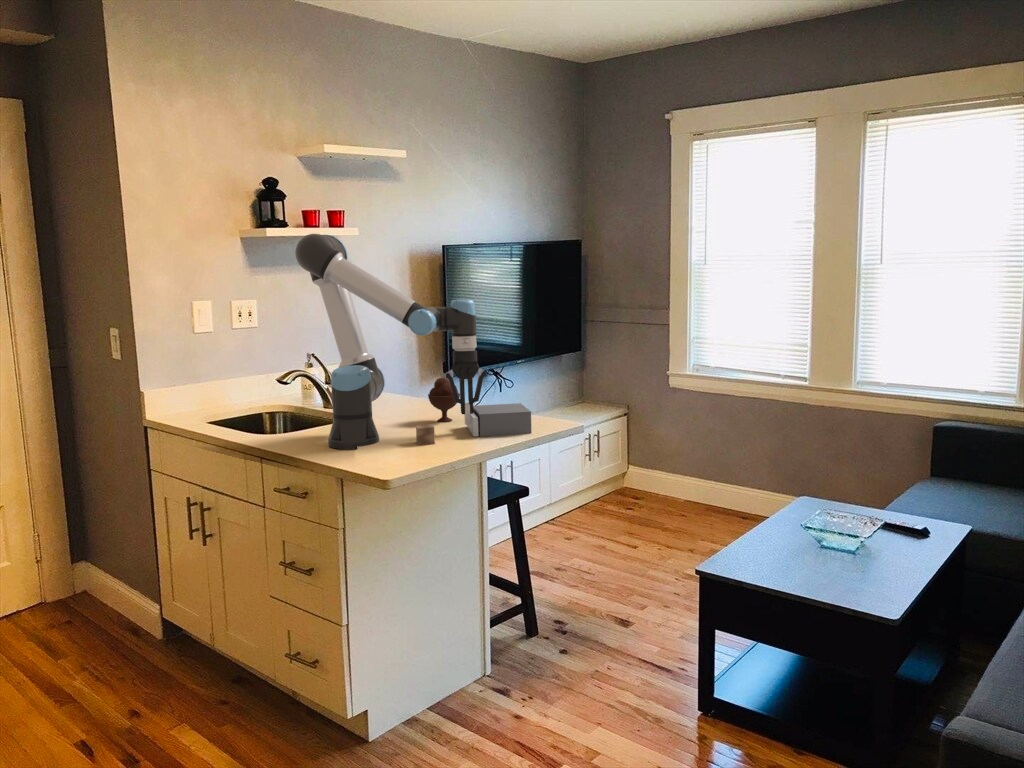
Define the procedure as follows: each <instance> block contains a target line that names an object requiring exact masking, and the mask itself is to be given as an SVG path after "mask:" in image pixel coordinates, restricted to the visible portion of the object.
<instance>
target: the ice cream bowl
mask: <svg viewBox="0 0 1024 768" xmlns="http://www.w3.org/2000/svg"><path fill="white" fill-rule="evenodd" d="M455 387H456V391H457V394H458V398H459V399H460V392H459V390H458V388H457V385H455ZM427 397H428V401H429V403H430V405H432V406H433V408H435V409H437V410H439V411H441V417H440V418H438V419H437V420H436V422H437V423H441V424H442V423H451V422H453V419H452V418H449V417H448V410H450V409H453V408H454V407H455V406H456V405H457V404H458V403H456V402H455V400H454V396H453V393H452V389H451V386H450V382H449V379H448V378H447V377H438V378H437V379H436V380H435V381H434V383H433V387H432V388H431V389H430V390H429V393H427Z"/></svg>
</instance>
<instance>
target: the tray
mask: <svg viewBox="0 0 1024 768" xmlns="http://www.w3.org/2000/svg"><path fill="white" fill-rule="evenodd" d="M466 428H467V429H468V430H469V433H471V435H472V436H473V437H479V434H478V431H479V432H480V425H479V420H478V417H477V416H476V415H475V413H474V412H473V414H470V425H466Z"/></svg>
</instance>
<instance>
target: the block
mask: <svg viewBox="0 0 1024 768" xmlns="http://www.w3.org/2000/svg"><path fill="white" fill-rule="evenodd" d="M415 433H416V434H415V435H416V436H415V437H416V443H417V444H416V445H417V446H424V445H425V446H426V445H435V444H436V442H435V441H436V439H435V426H434V424H433V423H431V424H429V423H428V424H416V425H415Z"/></svg>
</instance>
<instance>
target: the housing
mask: <svg viewBox="0 0 1024 768" xmlns="http://www.w3.org/2000/svg"><path fill="white" fill-rule="evenodd" d="M473 412H474V413H475V415H476V416H477V417H478V420H479V425H480V432H479V431H478V437H480V438H482V437H483V438H485V437H500V436H502V437H504V436H514V435H529V434H530V435H531V434H532V411H531V410H530V409H529V408H527V407H526V406H525V405H523V403H521V402H518V403H503V404H502V403H498V404H482V405H473Z"/></svg>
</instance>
